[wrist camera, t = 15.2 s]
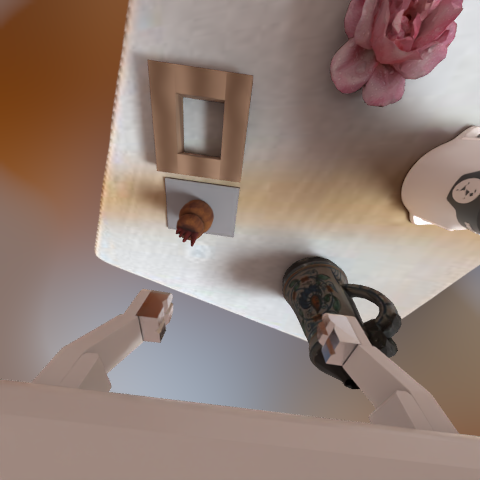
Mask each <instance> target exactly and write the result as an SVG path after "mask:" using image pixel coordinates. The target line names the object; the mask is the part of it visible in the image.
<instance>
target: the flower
mask: <svg viewBox="0 0 480 480" xmlns="http://www.w3.org/2000/svg"><path fill="white" fill-rule="evenodd" d="M462 2H463V0H352V1H351V2H350V4H349V7H348V10H347V13H346V16H345V19H344V28H345V33H346V34H347V36H348V39H349V40H348V41H347V42H346V43H345V44H344V45H343V46H342V47H341V48H340V49H339V50H338V51H337V52H336V54H335V55H334V56H333V59H332V62H331V66H330V74H331V80H332V81H333V82H334V84H335V86H336V88H337V89H338V90H339V91H340V92H342V93H348V94H349V93H353V92H356V91H358V90H359V89H361V88H362V87H363V89H362V96H363V100H364V102H365V103H367V105H370V106H379V107H383V106H387V105H388V104H391V103H395V102H397V101H399V100H400V99H401V98H402V95H403V93H404V91H405V89H404V86H405V79H418V78H420V77H423V76H425V75H427V74H428V73H430V72H431V71H432V70H433V69H434V68H435V66H436V65H437V64H438V63H439V62H441V61H442V60H443V59H444V58H446V54H447V47H448V46H449V45H450V43H451V42H452V41H453V39H454V37H455V33H456V28H457V24H456V23H455V22H454V20H455V19H456V18H457V16H458V15H459V14H460V13H461V11H462V10H463V8H462Z"/></svg>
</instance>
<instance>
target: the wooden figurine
mask: <svg viewBox="0 0 480 480" xmlns="http://www.w3.org/2000/svg"><path fill="white" fill-rule="evenodd" d="M213 219H214V214H213V210H212V209H211V207H210V206H209V205H208V204H207V203H206V202H204V201H202V200H199V199H198V200H191V201H189V202H188V203H186V204H185V205H184V206H183V207H182V209H181V210H180V213H179V220H178V221H177V225H176V228H177V230H176V234H179V237H182V238H184V239H183V242H185V241H186V240H191V246H193V245H194V243H195V241H196V239H198V238H199V237H200V236H201V235H202V234H203V233H205V232H207V231H208V230H209V229H210V227H211V225H212V222H213Z"/></svg>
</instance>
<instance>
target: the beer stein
mask: <svg viewBox="0 0 480 480" xmlns="http://www.w3.org/2000/svg"><path fill="white" fill-rule="evenodd" d="M283 295H284V298H285V299H286V301H287V302H288V303H289V304H290V306H291V307H292V309H293V311H294V312H295V314H296V316H297V318H298V320H299V323H300V325H301V327H302V329H303V331H304V334H305V336H306V338H307V340H308V342H309V356H310V360H311V361H312V363H313V364H314V365H315V366H316V367H317V368H318V369H319V370H321V371H322V372H324V373H326V374H328V375H330V376H332V377H334V378H336V379H339V380H341V381H342V382H343V383H344V385H345V386H346V387H349V388H351V389H360V388H359V387H358V386H357V384H356V383H355V382H354V381H353V379H352V378H351V377H350V376H349V374H348V373H347V372H346V371H345V369H344V368H343V366H340V365H333V364H327V363H326V362H325V359H324V356H323V353H322V347H323V346H322V345H321V344H320V343H319V341H318V338H317V333H316V332H317V326H318V324H319V323H320V322H322V321H323V320H322V316H323V314H325V313H329V314H337V315H345V316H353V317H355V318H356V319H357V321H358V323H359V324H360V326H361V328H362V329H363V331H364V333H365V335H366V336H367V338H368V340H369V341H370V343H371V345H372V346H374V347H376V348H377V349H379V350H380V351H381V352H382V353H383V354H385V355H386V356H387V357H388V358H390V357H392V356H394V355H395V354H396V352H397V351H398V350H397V346H396V344H395V342H394V341H393V340H392V338H391V337H392V336H393V335H394V334H395V333H397V332H398V330H399V328H400V326H401V317H400V316H399V315H398V312H397V309H396V308H395V306H394V304H393V303H392V302H391V301H390V300H389V299H388V298H387V297H386V296H385V295H383V294H382V293H380V292H379V291H377V290H375V289H372V288H369V287H366V286H362V285H356V284H348V280H347V277H346V275H345V273H344V272H343V271H342V270H341V269H340V268H339V267H338V266H337V265H336V264H335V263H333V262H332V261H330V260H328V259H324V258H320V257H312V258H305V259H302V260H300V261H297V262H296V263H294V264H293V265H292V266H291V267H290V268H289V269H288V270H287V271H286V272H285V275H284V277H283ZM352 297H359V298H365V299H367V300H369V301H371V302H373V303H375V304H376V305H377V306H378V307H379V315H378V316H377V317H376V319H371V320H369V321H367V322H365V323H363V322H362V319H361V317H360V315H359V312H358V310H357V308H356V305H355V303H354V301H353V299H352Z"/></svg>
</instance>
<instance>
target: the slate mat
mask: <svg viewBox="0 0 480 480" xmlns="http://www.w3.org/2000/svg"><path fill="white" fill-rule="evenodd" d="M165 187H166V202H167V217H168V228H169V229H176V230H177V228H176V225H177V221H178V220H179V213H180V210H181V209H182V207H183V206H184V205H185V204H186V203H188V202H189V201H191V200H198V199H199V200H202V201H204V202H206V203H207V204H208V205H209V206H210V207H211V209H212V210H213V214H214V219H213V222H212V225H211V227H210V229H209V230H208V231H207V232H205V233H206V234H213V235H220V236H228V237H234V229H235V221H236V213H237V205H238V197H239V189H240V188H238V187H231V186H224V185H216V184H209V183H202V182H195V181H188V180H181V179H174V178H165Z"/></svg>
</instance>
